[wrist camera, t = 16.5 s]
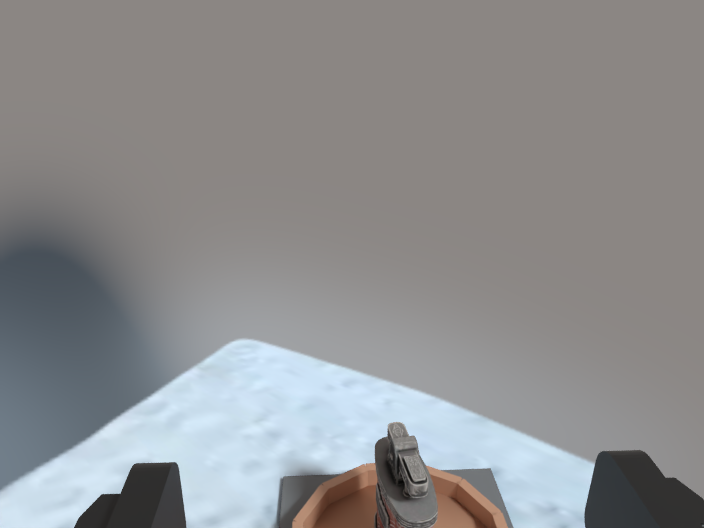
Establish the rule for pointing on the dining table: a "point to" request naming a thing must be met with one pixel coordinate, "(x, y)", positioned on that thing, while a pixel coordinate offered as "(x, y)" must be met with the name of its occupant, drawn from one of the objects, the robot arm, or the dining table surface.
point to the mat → (304, 487)
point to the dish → (360, 503)
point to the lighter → (403, 483)
